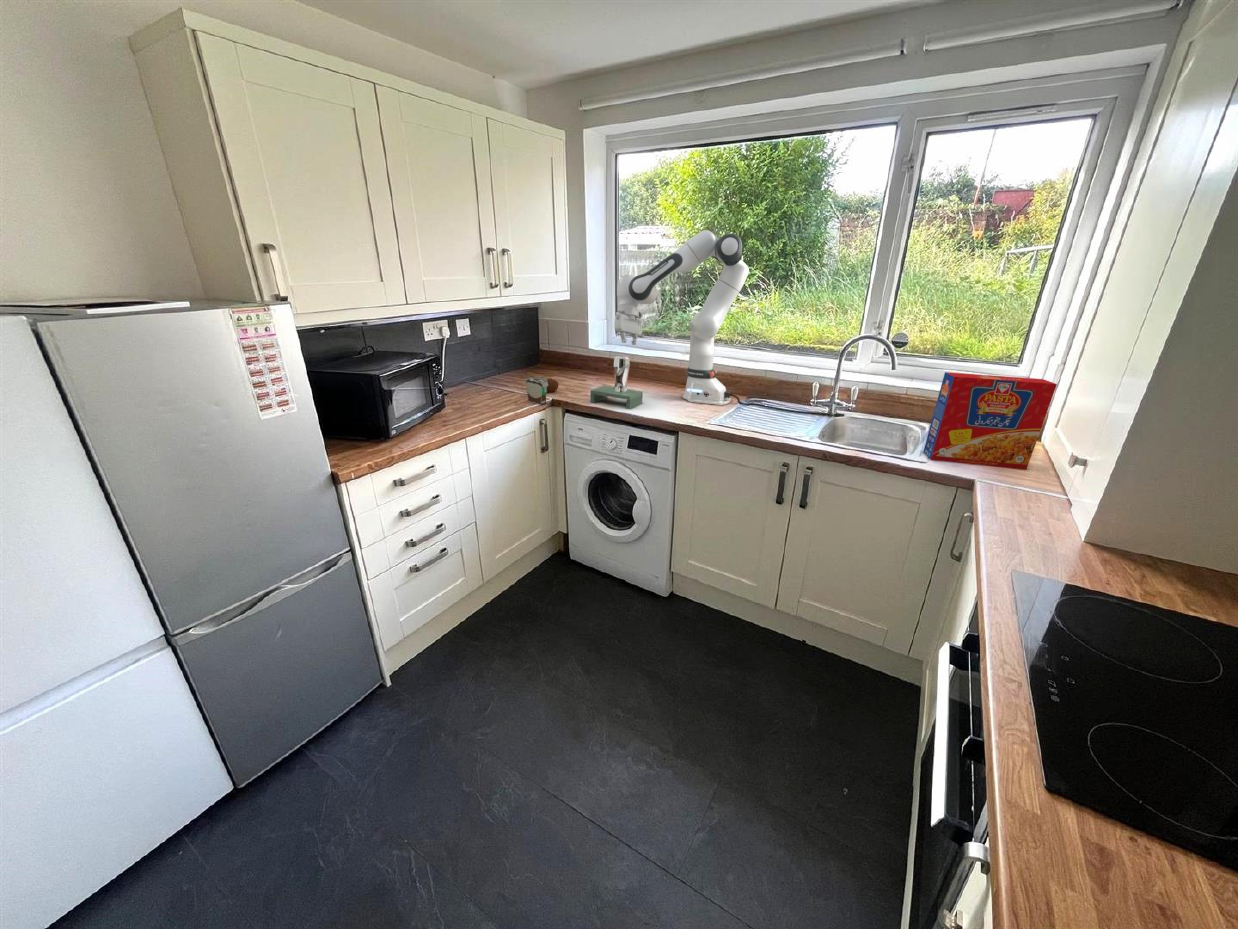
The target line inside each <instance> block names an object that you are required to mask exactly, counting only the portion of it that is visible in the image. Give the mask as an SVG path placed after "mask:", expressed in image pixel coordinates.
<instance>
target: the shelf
mask: <svg viewBox="0 0 1238 929" xmlns="http://www.w3.org/2000/svg"><path fill="white" fill-rule="evenodd" d="M589 395H590V401H589V402H590V403H593V404H595V403H597V402H600V401H602V400H605V399H607V398H608V397H609V398H616V399H622V400H625V402H626V404H625V405H626V406H625V409H626V410H632V409H633V408H635V407H638V406H641V405H642V404H643V395H644V391H641V390H635V389H630V388H627V392H626V393H617V392H614V386H611V385H601V386H599V387H596V388H592V389H590V394H589Z"/></svg>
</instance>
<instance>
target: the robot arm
mask: <svg viewBox="0 0 1238 929" xmlns="http://www.w3.org/2000/svg"><path fill="white" fill-rule="evenodd" d="M742 256H743V242H742V240H741V238H740V237H739V236H738V235H737V234H735V233H726V234H723V235H722V236H720V237H717V236H716V235H715V234H714V233H713V232H712V231H710V230H708V229H704V230H702V231H700V232H698V233H697V234H695V235H693V236H692V237H691V238H688V240H687V241H686V242H684V243H683V244H682V245H680V247H678V248H676V250H675V251H674V252H673V253H671V254H670V255H668V256H667V257H666V258H664V259H663V260H661V261H660V262H659V263H658V264H656V265H654V266H653V267H652V268H651V269H649V270H648V271H646V272H644V273H641V274H638V275H633V274H626V275H623V276H621V277H619V279H618V281H617V286H616V288H617V290H616V294H617V295H616V296H617V297H616V298H617V302H618V303H617V311H616V312H615V316H614V322H613V324H614V332H617V333H619V336H620V340H621V343H622V344H625V343H627V338H626V335H630V336H631V338H632V340H631V345H633V346H636V345H637V340H638V336H642V334H643V320H642V319H643V314H642V312H641V311H640V309H639V308H638V304H640V305H650V304H652V303H654V302H655V301H656V300H657V298H658V288H657V287H656V285H658V284H659V283H660V282H662V281H663V280H664V279H666V278H667V277H669V276H670V275H671V274H674V273H689V272H691V271H692V270H694V269H696V268H697V267H698V266H700V264H702V263H703V262H705V261H706V260H707V259H709V258H711V257H712V258H714V259H715V260H716V261H717V262H719V263H720V264H722V265H723V268H722V270H721V273H720V275H719V277H718V278H717V280H716V281H715V283H714V285H713V286H712V288H711V290H710V292H709V294H708V295H707V297H706V300H705V302H704V304H703V306H702V308H701V310H700V312H697V313H695V315H693V317H692V318H691V321H690V333H689V334H690V335H689V358H688V367H687V370H686V384H685V388H684V392H683V394H682V398H683V399H684V400H687V401H688V402H690V403H698V404H706V405H707V404H708V405H717V406H725V405H728V404H730V402H731V401H732V399H731V397H733V398H735V399H736V400H737V403H738V404H740V405H741V406H742V405H743V406H758V407H763V408H767V409H771V410H776V411H781V412H787V413H794V414H805V415H806V414H807V415H817V416H818V415H820V416H831V415H830V414H828V413H829V412H819V411H817V412H816V411H804V410H794V409H787V408H782V407H776V406H771V405H767V406H765V405H766V404H762V403H756V402H748V403H745V402H742V401H741V399H740V397H739V396H737V395H736V394H733V393H732V390H727V387H726V386H725V385H724V384H723V383H722V382H721V381H719V379H718V378H716V377H717V372H718V371H717V370H715V369H713V367H714V357H715V336H716V335H717V334H718V332H719V330H720V328H721V326H722V324H723V322H724V320H725V318H726V317H727V314H728V312H729V310H730V308H731V307H732V305H733V303H734V301H735V300H736V298H737V297H738V295H739V294H740V292H741V290H742V288H743V287H744V285H745V283H746V280H747V278H748V276H749V272H750V269H749V266H748V265H747V264H746V263H745V262H744V261H743V260H742ZM833 416H835V417H844V416H845V413H836V414H834V415H833Z"/></svg>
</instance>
